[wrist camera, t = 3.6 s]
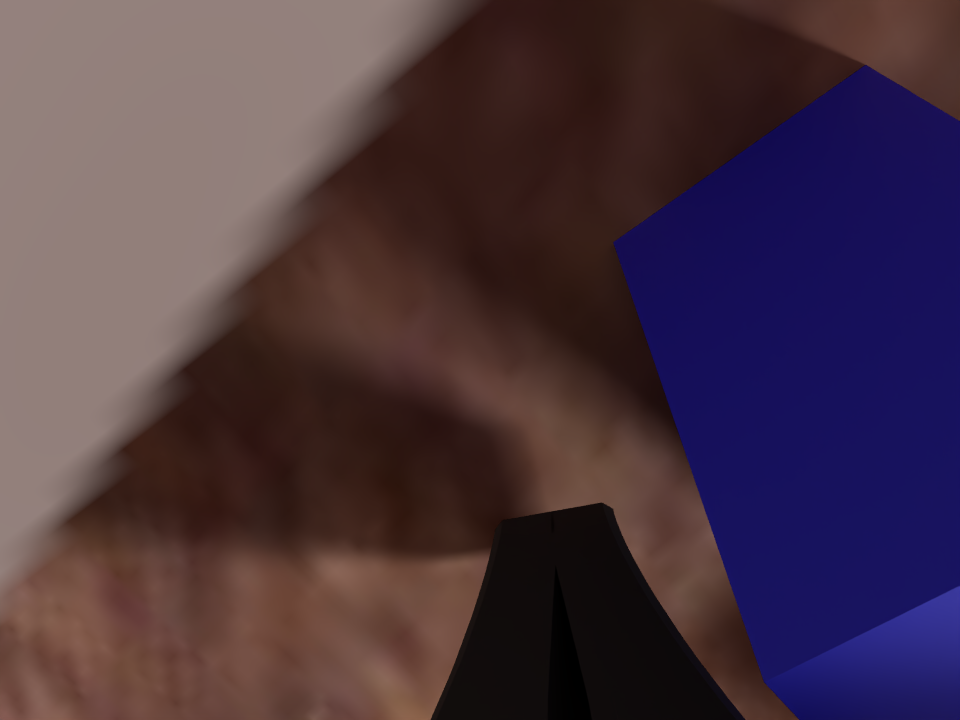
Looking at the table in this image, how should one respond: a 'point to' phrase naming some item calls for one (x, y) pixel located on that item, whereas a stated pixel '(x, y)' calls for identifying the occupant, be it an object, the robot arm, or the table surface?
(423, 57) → the table surface
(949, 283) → the cable clip
